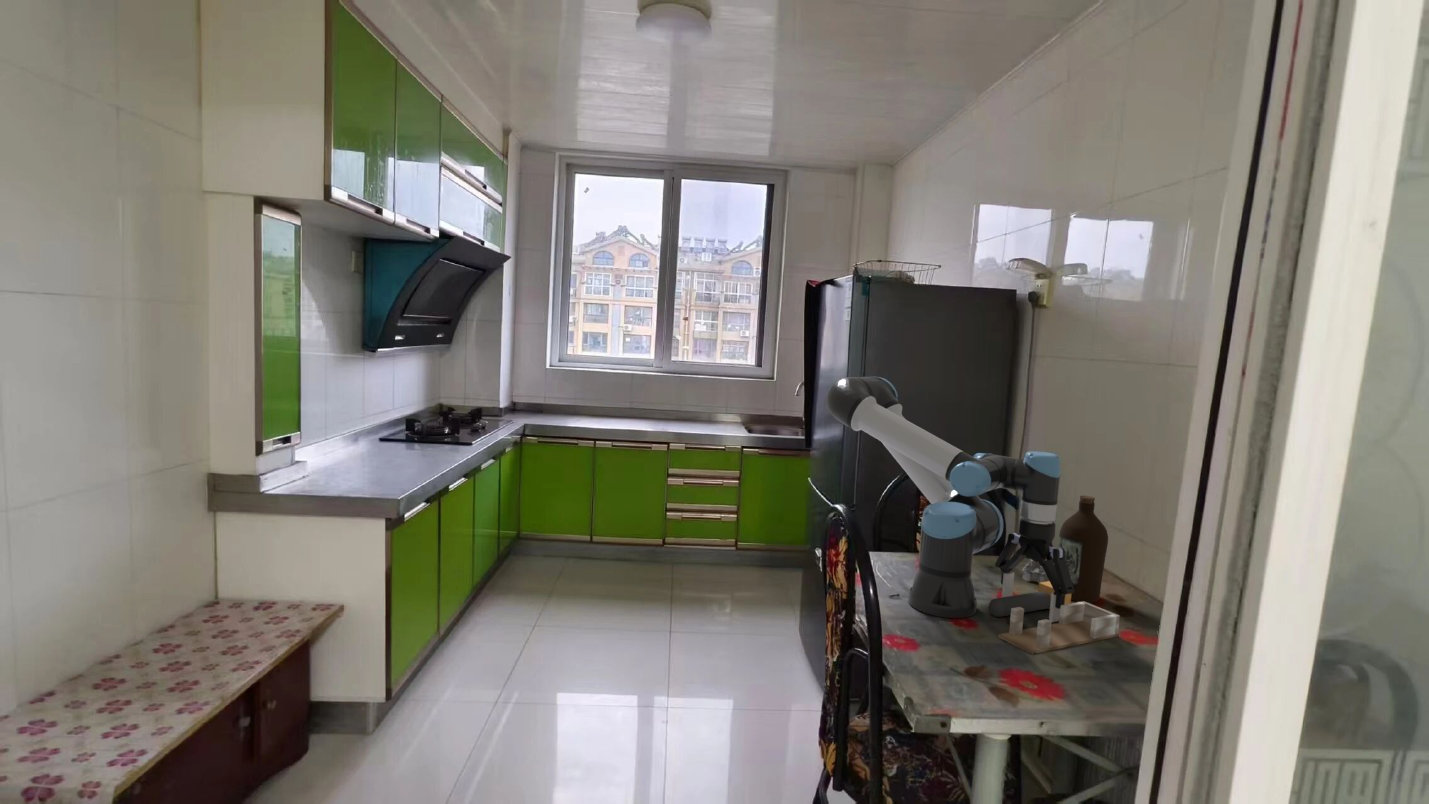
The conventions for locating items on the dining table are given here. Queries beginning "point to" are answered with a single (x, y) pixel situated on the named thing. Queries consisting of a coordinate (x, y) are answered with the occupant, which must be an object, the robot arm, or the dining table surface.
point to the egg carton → (1034, 572)
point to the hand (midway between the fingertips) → (1029, 610)
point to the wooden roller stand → (1063, 628)
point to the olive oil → (1084, 550)
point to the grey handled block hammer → (1025, 601)
